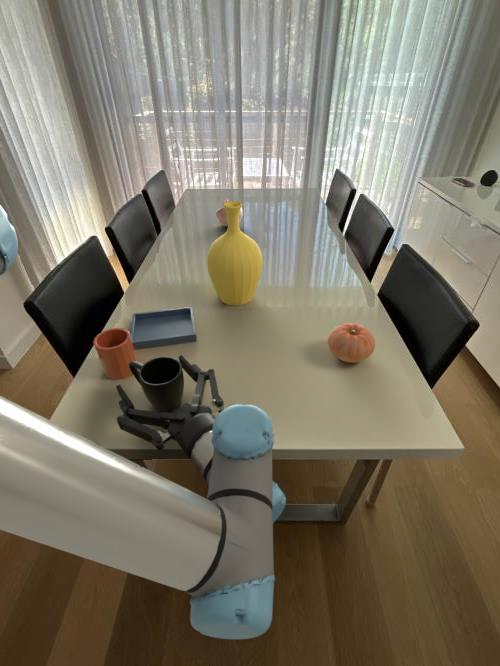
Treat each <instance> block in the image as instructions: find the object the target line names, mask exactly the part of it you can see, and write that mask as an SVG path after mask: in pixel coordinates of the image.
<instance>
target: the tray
mask: <svg viewBox="0 0 500 666" xmlns="http://www.w3.org/2000/svg"><path fill="white" fill-rule="evenodd" d="M131 317H132V318H131V326H130V335H131V339H132V342H133V346H134V350H135V351H137V350H142V349H143V350H144V349H151V348H157V347H165V346H173V345H180V344H181V345H182V344H187V343H188V344H189V343H195V342H198V339H197V331H196V323H195V317H194V310H193V306H186V307H178V308H177V307H176V308H169V309H168V308H167V309H159V310H152V311H142V312H135V313H132V316H131Z"/></svg>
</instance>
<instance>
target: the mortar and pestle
mask: <svg viewBox="0 0 500 666" xmlns="http://www.w3.org/2000/svg"><path fill="white" fill-rule="evenodd" d="M226 202H229V200H228V199H225V200H224V201H222V207H221V208H218V209H216V210H215V218H216V220H217V222H218V223H219V224H220V225H221V226H223V225H225V226H224V227H225V228H228V227H227V226H228V216H227V213H226V211H225V208H224V206H223V205H224V204H225V203H226ZM242 207H243V206H242ZM242 207H241V210H240V213H239V223H240V222H241V220H242V219H243V213H244V212H243V208H242Z"/></svg>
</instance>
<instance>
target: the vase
mask: <svg viewBox="0 0 500 666" xmlns="http://www.w3.org/2000/svg"><path fill="white" fill-rule="evenodd" d="M223 206H224V208H225V211H226V213H227V216H228V227H227V228H226V229H227V230H226V232H225V233H223V234H222V235H221V236H219V237H217V239H215V240H214V241H213V243H212V244H211V246H210V248H209V249H208V251H207V254H206V265H207V272H208V276H209V277H210V281H211V283H212V286H213V288H214V291H215V292H216V295H217V296H218V298H219V300H220V301H221V303H223V304H226V305H229V306H243V305H247V304H248V303H250V302H251V301H252V300H253V298H254V295H255V293H256V290H257V288H258V285H259V282H260V279H261V275H262V270H263V254H262V251H261V249H260V247H259V245H258V243H257V242H256V241H255V240H254V239H253V238H252V237H250V236H249V235H247V234H245V233H244V232H243V231H241V228H240V222H239V213H240V210H241V207H243V204H242V203H241V202H239V201H228V202H226V203H225V204H224V205H223V204H222V207H223Z"/></svg>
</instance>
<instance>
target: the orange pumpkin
mask: <svg viewBox="0 0 500 666" xmlns="http://www.w3.org/2000/svg"><path fill="white" fill-rule="evenodd" d="M327 345H328V349H329V350H330V353H331V354H332V355H333V356H334V357H335V358H337V359H338V360H340V361H342V362H344V363H345V362H346V363H354V364H355V363H360V362H363V361H365V360H367V359H368V358H370V356H372V354H373V352H374V351H375V347H376V340H375V338H374V336H373V334H372V332H371V331H370V330H369V328H367V327H365V326H363V325H361V324H357V323H354V322H352V323H351V322H350V323H341V324H339V325H337V326H335V327H333V329H331V331H330V332H329V335H328V337H327Z"/></svg>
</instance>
